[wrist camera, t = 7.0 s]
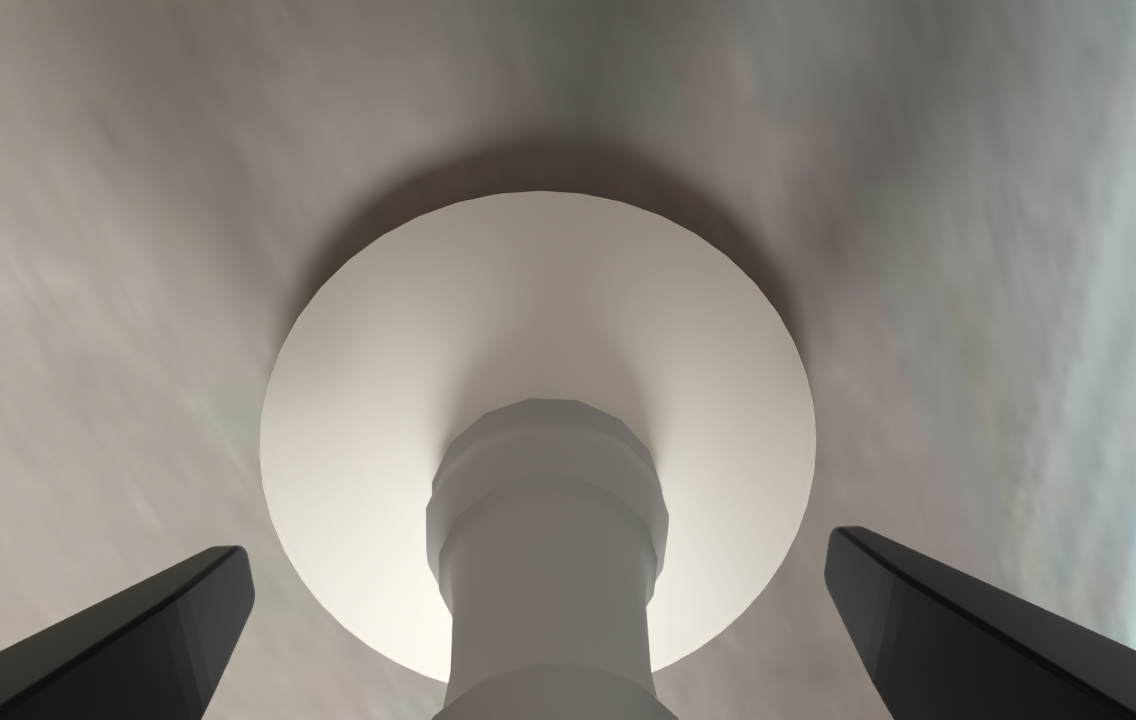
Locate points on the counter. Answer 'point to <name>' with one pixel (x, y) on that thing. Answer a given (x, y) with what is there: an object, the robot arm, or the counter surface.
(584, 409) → the rook chess piece
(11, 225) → the counter surface
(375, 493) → the dish
